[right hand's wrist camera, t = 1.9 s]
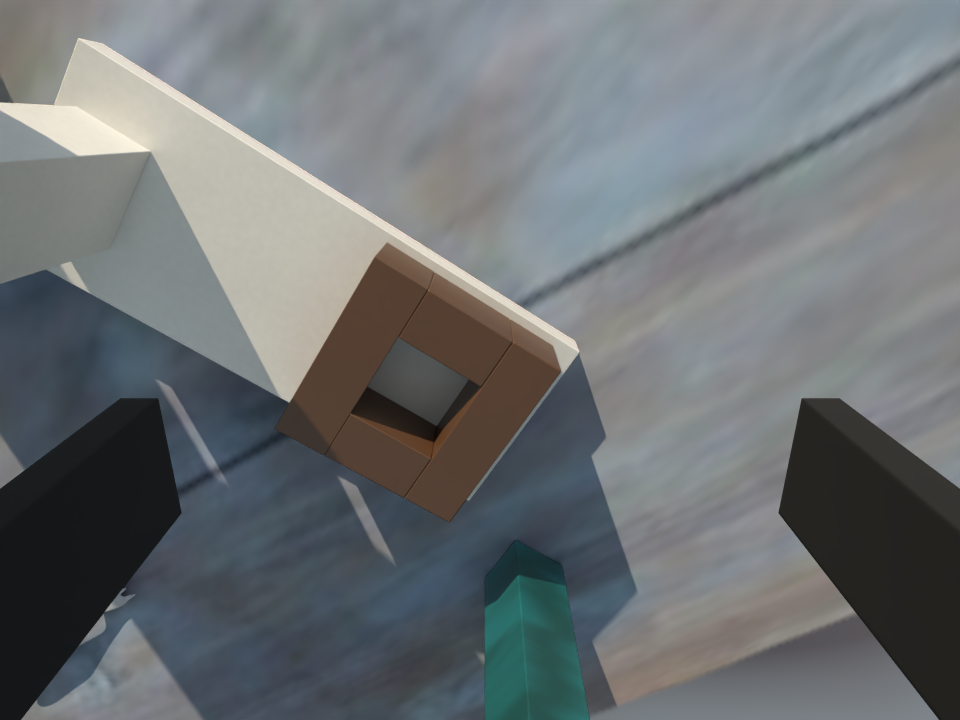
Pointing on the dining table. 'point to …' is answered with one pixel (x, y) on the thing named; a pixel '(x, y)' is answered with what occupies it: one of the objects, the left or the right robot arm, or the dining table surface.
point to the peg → (530, 641)
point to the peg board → (272, 280)
